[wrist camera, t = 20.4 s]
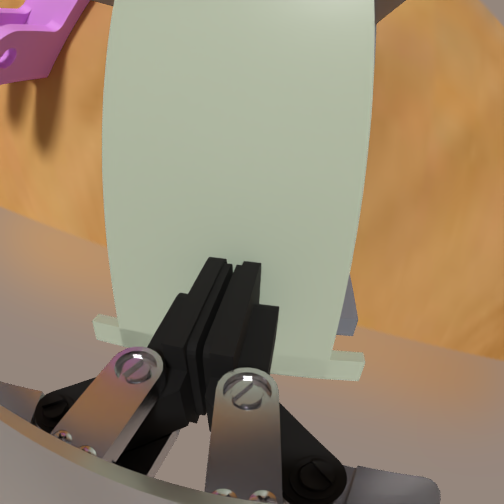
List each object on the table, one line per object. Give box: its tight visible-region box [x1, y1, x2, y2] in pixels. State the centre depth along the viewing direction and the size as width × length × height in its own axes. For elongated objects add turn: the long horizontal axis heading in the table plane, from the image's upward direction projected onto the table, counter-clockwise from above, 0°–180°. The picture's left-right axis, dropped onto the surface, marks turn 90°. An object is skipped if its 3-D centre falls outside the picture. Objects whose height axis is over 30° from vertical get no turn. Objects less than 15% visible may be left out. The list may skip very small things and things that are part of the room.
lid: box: [92, 0, 375, 381], centre depth 9 cm, size 11×15×1 cm
